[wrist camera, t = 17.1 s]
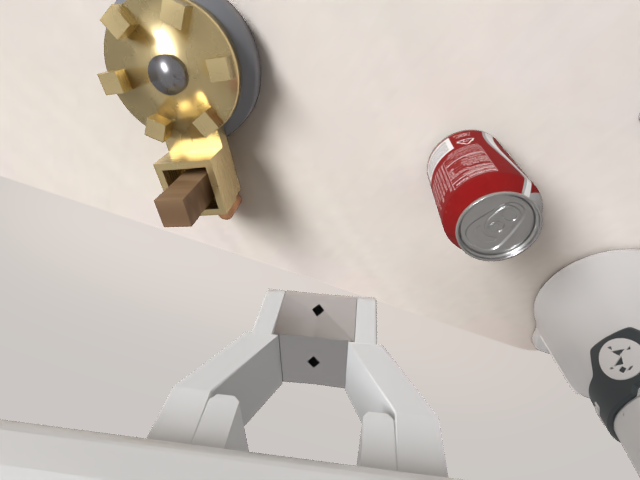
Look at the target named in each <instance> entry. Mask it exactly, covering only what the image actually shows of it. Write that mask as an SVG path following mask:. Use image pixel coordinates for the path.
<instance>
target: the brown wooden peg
mask: <svg viewBox="0 0 640 480" xmlns="http://www.w3.org/2000/svg"><path fill="white" fill-rule="evenodd" d="M214 197H215V196H214V192H213V189H212V186H211V183H210V180H209V177H208V173H207V170H206V167H201V168H188V169H187V170H186V171H185V172H184V173H183V174H182V175H180V176H179V177H178V178H177V179H176V180H175V181H174V182H173V183H172V184H171V185H170V186H169V187H168V188H167V189H166V190H165V191H164V192H163V193H162V194H160V195H159V196H158V197H157V198H156V199H155V200H154V203H155V205H156V208H157V210H158V213H159V215H160V218H161V221H162V223H163V226H164V227H189V226H192V225H193V224H194V223H195V221H196V220H197V219H198V218H199V216H200V215H201V214H202V212H203V211H204V210H205V209H206V207H207V206H208V205H209V203H210V202H211V201H212V199H213V198H214Z"/></svg>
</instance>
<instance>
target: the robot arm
mask: <svg viewBox="0 0 640 480" xmlns="http://www.w3.org/2000/svg"><path fill="white" fill-rule="evenodd" d="M376 310H377V309H376V299H375V298H370V297H353V296H340V295H328V294H316V293H307V292H297V291H288V290H287V291H284V290H276V289H269V290H268V291H267V292H266V294H265V297H264V300H263V303H262V305H261V308H260V311H259V314H258V316H257V319H256V322H255V325H254V327H253V330H252V332H246V333H244V334H243V335H241V336H240V337H239V338H238V339H236V340H235V341H234V342H232V343H231V344H230V345H228V346H227V347H226V348H224V349H223V350H222V351H220V352H219V353H218V354H216V355H215V356H214V357H212V358H211V359H210V360H208V361H207V362H206V363H204V364H203V365H202V366H200V367H199V368H198V369H196V370H195V371H194V372H192V373H191V374H190V375H188V376H187V377H186V378H184V379H183V380H182V381H180V382H179V383H178V384H176V385H175V386H174V387H173V388H172V390H171V392H170V394H169V396H168V398H167V400H166V402H165V404H164V406H163V407H162V409H161V411H160V413H159V415H158V417H157V419H156V421H155V423H154V425H153V427H152V429H151V431H150V433H149V435H148V437H147V439H146V438H138V437H130V436H122V435H115V434H108V433H100V432H92V431H84V430H77V429H69V428H62V427H53V426H46V425H39V424H31V423H23V422H16V421H8V420H1V419H0V480H461V479H453V478H448V473H447V467H446V460H445V454H444V448H443V441H442V435H441V428H440V422H439V418H438V417H437V415H436V414H435V413H434V411H433V410H432V409H431V407H430V406H429V405H428V404H427V402H426V401H425V400H424V398H423V397H422V396H421V394H420V393H419V392H418V391H417V389H416V388H415V387H414V385H413V384H412V383H411V381H410V380H409V379H408V378H407V376H406V375H405V374H404V372H403V371H402V370H401V369H400V368H399V366H398V365H397V363H396V362H395V361H394V359H393V358H392V357H391V356H390V354H389V353H388V352H387V350H386V349H385V348H384V346H383V345H377V317H376V316H377V315H376V314H377V311H376ZM534 317H535V321H536V329H535V331H534V333H533V336H532V342H533V344H534V346H535V347H536V348H537V349H538V350H540V351H543V352H545V353H548V354H551V356H552V358H553V359H554V361H555V363H556V364H557V366H558V368H559V369H560V371H561V373H562V374H563V376H564V378H565V379H566V381H567V383H568V384H569V386H570V387H571V389H572V390H573V391H574V392H575V393H577V394H581V395H583V396H584V397H587V398H590V399H591V401H592V403H593V405H594V407H595V410H596V413H597V415H598V416H599V418H600V419H601V421H602V423H603V424H604V425H605V426H606V428H607V429H608V431H609V432H610V434H611V435H612V436H613V437H614V438H615V439H616V440H617V441H619V442H620V443H621V444H622V446H623V448H624V450H625V451H626V453H627V455H628V457H629V459H630V460H631V462H632V464H633V466H634V468H635V469H636V471H637V473H638V475H639V476H640V249H621V250H612V251H606V252H601V253H597V254H594V255H591V256H588V257H585V258H582V259H580V260H578V261H575V262H573V263H571V264H570V265H568V266H566V267H564V268H563V269H561V270H560V271H559V272H557V273H556V274H555V275H553V276H552V277H551V278H550V279H549V280H548V281H547V282H546V283H545V284H544V285H543V287H542V288H541V290H540V291H539V293H538V295H537V297H536V299H535V303H534ZM282 381H285V382H297V383H308V384H317V385H325V386H332V387H340V388H345V391H346V393H347V395H348V397H349V399H350V401H351V402H352V405H353V407H354V409H355V411H356V413H357V415H358V417H359V419H360V421H361V423H362V429H361V436H360V444H359V451H358V459H357V466H354V465H346V464H338V463H330V462H323V461H314V460H308V459H299V458H292V457H284V456H276V455H269V454H261V453H253V452H249V450H248V444H247V439H246V434H245V429H244V426H245V425H246V424H247V423H248V422H249V420H250V419H251V418H252V417H253V416H254V415H255V414H256V412H257V411H258V410H259V409H260V408H261V407H262V406H263V405H264V404H265V402H266V401H267V400H268V399H269V398H270V397H271V396H272V394H273V393H274V392H275V391H276V390H277V389H278V388H279V387H280V386H281V384H282Z"/></svg>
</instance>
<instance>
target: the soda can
mask: <svg viewBox="0 0 640 480" xmlns="http://www.w3.org/2000/svg"><path fill="white" fill-rule="evenodd" d="M427 175H428V179H429V182H430V185H431V189H432V192H433V195H434V198H435V202H436V205H437V208H438V212H439V215H440V218H441V221H442V225H443V228H444V231H445V233H446V235H447V237H448V238H449V239H450V241H451V242H452V243H453V244H455V245H456V246H457V247H459V248H460V249H462V250H463V251H464V252H465V253H466V254H468V255H469V256H471V257H473V258H476V259H479V260H483V261H500V260H505V259H509V258H512V257H514V256H516V255H518V254H520V253H522V252H523V251H525V250H526V249H527V248H529V247H530V246H531V245H532V244H533V243H534V241H535V240H536V239H537V237H538V236H539V233H540V231H541V228H542V209H543V203H542V198H541V195H540V193H539V191H538V189H537V188H536V186H535V185H534V184H533V183H532V182H531V180H530V179H529V178H528V177H527V176H526V175H525V173H524V172H523V171H522V170H521V169H520V167H519V166H518V165H517V164H516V163H515V162H514V160H513V159H512V158H511V157H510V156H509V154H508V153H507V152H506V151H505V150H504V149H503V147H502V146H501V145H500V144H499V143H498V141H497V140H496V139H495V138H494V137H492V136H491V135H489V134H488V133H485V132H483V131H479V130H463V131H459V132H456V133H453V134H451V135H449V136H447V137H446V138H444V139H443V140H442V141H441V142H440V143H439V144H438V145H437V146H436V147H435V148H434V150H433V151H432V153H431V155H430V157H429V160H428V164H427Z"/></svg>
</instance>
